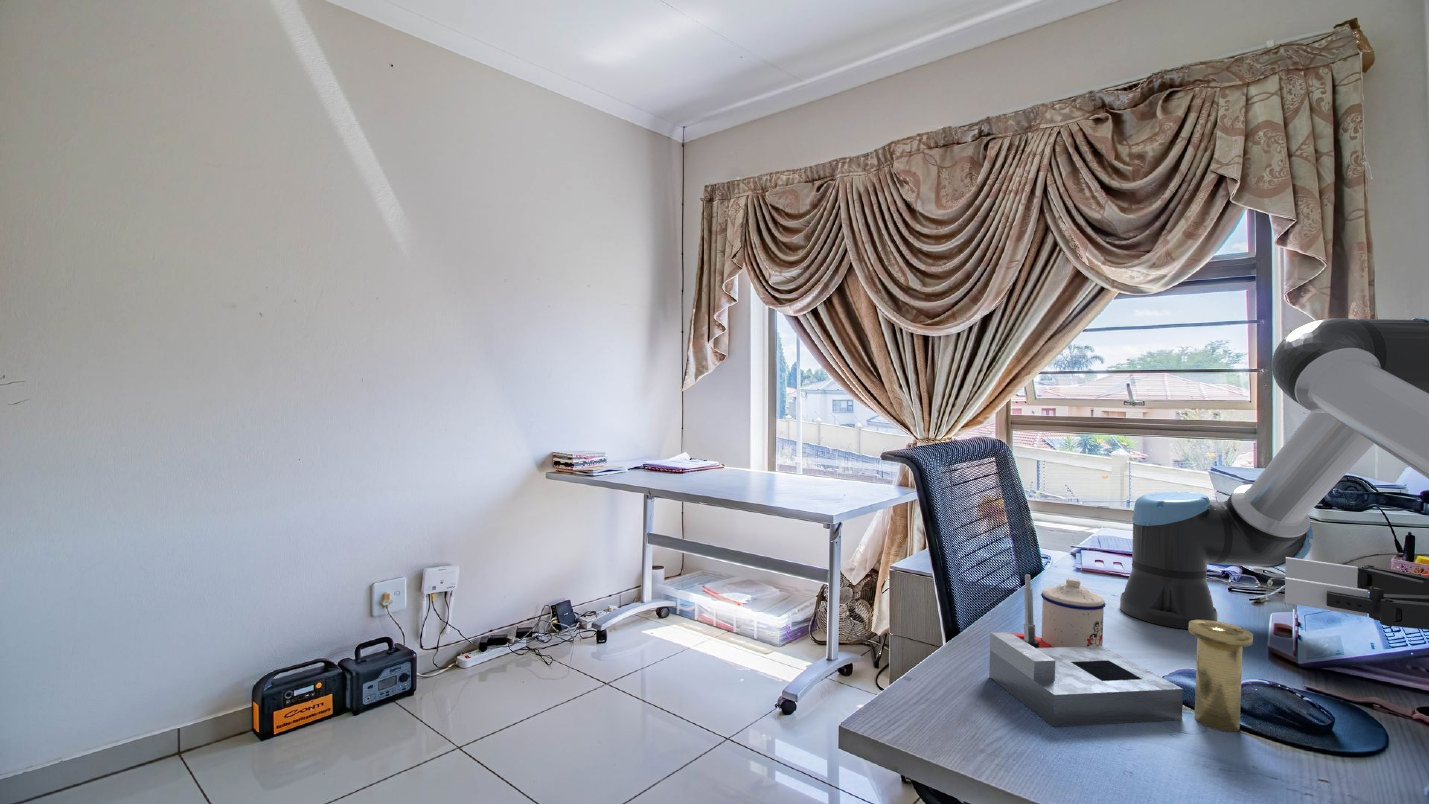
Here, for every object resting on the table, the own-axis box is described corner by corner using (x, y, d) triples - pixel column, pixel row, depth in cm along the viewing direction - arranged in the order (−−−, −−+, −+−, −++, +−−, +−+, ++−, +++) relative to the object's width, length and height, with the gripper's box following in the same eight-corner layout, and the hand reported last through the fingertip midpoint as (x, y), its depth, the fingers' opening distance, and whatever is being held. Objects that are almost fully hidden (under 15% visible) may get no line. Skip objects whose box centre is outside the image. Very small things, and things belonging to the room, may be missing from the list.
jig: (1100, 672, 95) (1102, 629, 95) (1182, 720, 82) (1183, 669, 81) (989, 677, 93) (990, 632, 93) (1053, 726, 79) (1055, 674, 79)
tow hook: (987, 639, 109) (1003, 659, 99) (985, 562, 109) (1000, 575, 100) (1040, 640, 107) (1061, 661, 98) (1037, 563, 108) (1058, 576, 99)
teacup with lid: (1100, 668, 97) (1103, 591, 97) (1034, 652, 102) (1037, 580, 102) (1108, 644, 107) (1110, 574, 107) (1047, 631, 112) (1049, 565, 112)
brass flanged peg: (1215, 709, 85) (1218, 619, 85) (1263, 734, 78) (1267, 637, 78) (1172, 711, 84) (1176, 620, 84) (1217, 737, 78) (1221, 639, 77)
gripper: (1622, 704, 53) (1283, 636, 68) (1536, 629, 72) (1284, 588, 86) (1625, 614, 53) (1285, 565, 68) (1539, 562, 72) (1286, 532, 86)
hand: (1284, 578), depth 77 cm, fingers open, 13 cm apart
